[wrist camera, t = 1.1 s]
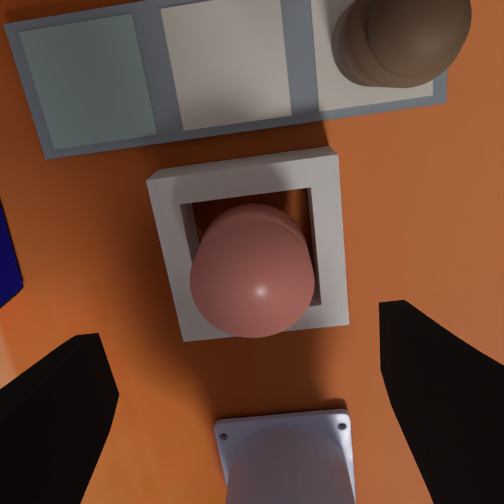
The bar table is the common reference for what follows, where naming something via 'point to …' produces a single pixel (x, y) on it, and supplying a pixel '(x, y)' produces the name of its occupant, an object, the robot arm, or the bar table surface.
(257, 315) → the button
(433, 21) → the pawn
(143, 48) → the board
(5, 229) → the puzzle cube
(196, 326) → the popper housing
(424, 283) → the bar table surface
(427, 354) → the robot arm
